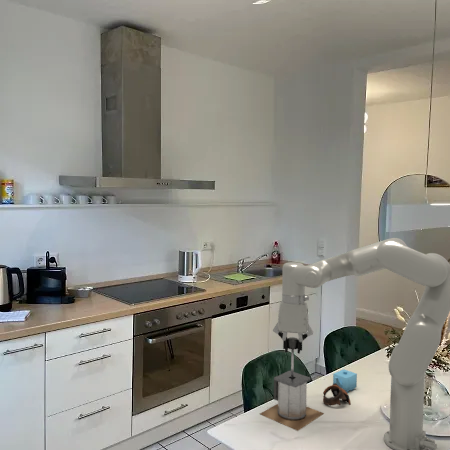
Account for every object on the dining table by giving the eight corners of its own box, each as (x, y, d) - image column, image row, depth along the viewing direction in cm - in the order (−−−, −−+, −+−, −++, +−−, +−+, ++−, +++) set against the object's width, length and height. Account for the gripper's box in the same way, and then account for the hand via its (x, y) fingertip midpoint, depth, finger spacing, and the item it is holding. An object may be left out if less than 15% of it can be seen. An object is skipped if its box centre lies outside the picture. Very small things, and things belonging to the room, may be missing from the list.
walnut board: (324, 416, 156) (324, 413, 156) (297, 434, 144) (297, 430, 144) (286, 401, 167) (286, 398, 167) (259, 417, 155) (259, 413, 155)
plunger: (305, 385, 155) (306, 339, 154) (294, 391, 150) (295, 343, 149) (289, 379, 159) (290, 334, 158) (278, 385, 155) (279, 339, 154)
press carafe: (311, 413, 156) (312, 377, 155) (295, 423, 148) (295, 386, 148) (283, 402, 164) (283, 368, 163) (266, 411, 157) (266, 375, 156)
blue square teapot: (341, 397, 171) (341, 378, 170) (327, 391, 176) (328, 373, 175) (358, 388, 179) (359, 370, 178) (345, 383, 183) (345, 365, 183)
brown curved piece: (355, 412, 160) (346, 395, 158) (331, 422, 162) (321, 405, 159) (348, 390, 171) (339, 373, 169) (325, 399, 173) (316, 382, 171)
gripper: (318, 297, 154) (317, 350, 156) (270, 295, 158) (270, 346, 160) (317, 303, 147) (316, 357, 148) (267, 300, 151) (266, 353, 152)
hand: (292, 351), depth 154 cm, fingers closed on plunger, 3 cm apart
